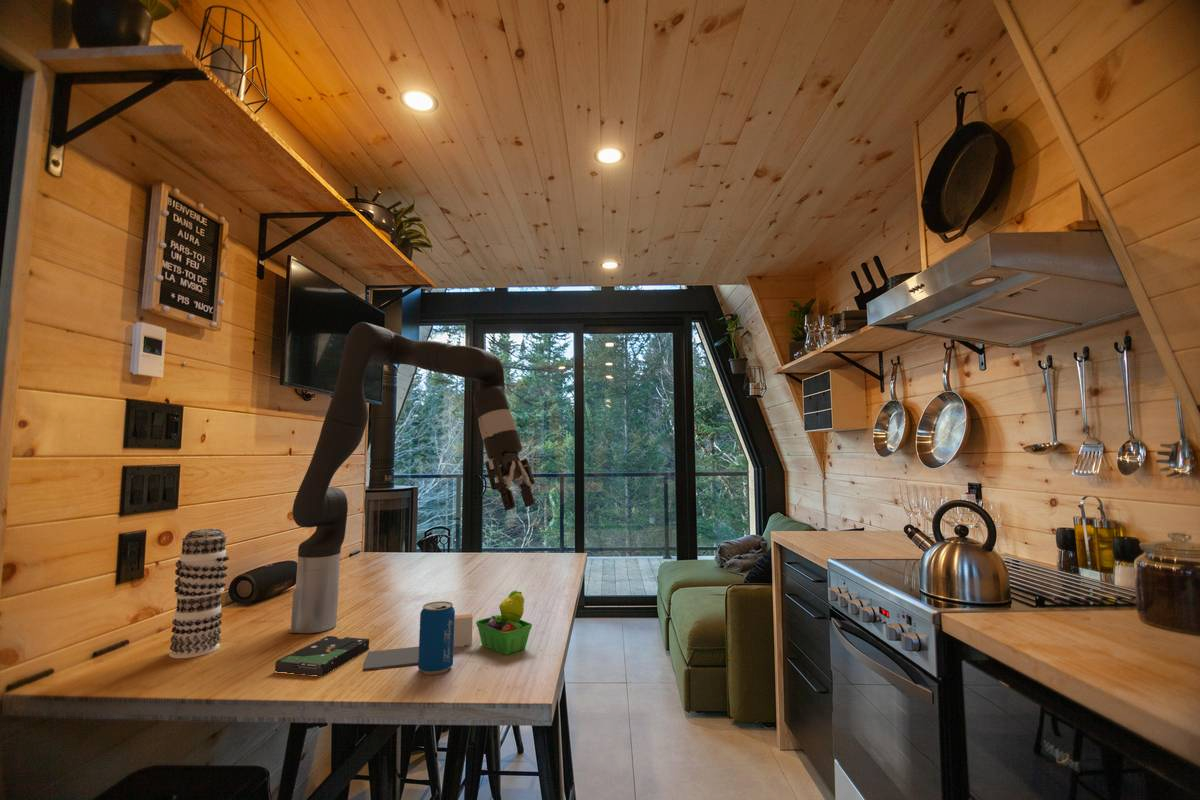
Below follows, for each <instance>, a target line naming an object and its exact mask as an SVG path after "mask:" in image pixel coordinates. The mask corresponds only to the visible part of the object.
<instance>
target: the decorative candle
mask: <svg viewBox="0 0 1200 800" xmlns="http://www.w3.org/2000/svg"><path fill="white" fill-rule="evenodd" d="M227 538H228V535H227V534H225V533H224V532H223V530H222V529H220V528H205V529H204V528H203V529H202V528H201V529H194V530H190V531H189V532H188V533H187V534H186V536H185V537H183V538H181V540H182V541H181V542H182V543H181V552H180V554H179V559H178V560H177V561H176V562H175V568H177V569H175V571H174V573H175V575H176V576H178V577H177V578H176V579H175V581H174V584H175V585H176V586H175V587H174V592H175V594H174V598H175V599H177V601H176V609H175V611H174V618H173V620H172V625H173V627H172V628H171V631H170V632H171V633H174V634H173V635H171V636H170V639H169V640H170V642H171V643H170V646H169V650H170V652H169V655H168V656H169V657H170V658H173V659H191V658H196V657H200V656H204V655H205V656H206V655H208V654H211V653H214V652H215V651H217V650H219V648H220V647H221V646H220V643H219V642H220V641H221V636H220V634H221V633H222V629H221V628H220V626H221V625H222V620H221V618H222V617H223V613H222V603H221V600H222V599H221V598H222V593H224V592H225V588H224V587H225V586H226V583H225V582H223V579H224V578H226V577H227V576H228V574H227V573H225V571H226V570H228V566H226V565H225V564H224V563H225V562H226V561H228V560H229V559H230V557H229V556H228V555H226V553H227V549H226V540H227Z"/></svg>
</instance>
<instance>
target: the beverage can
mask: <svg viewBox="0 0 1200 800" xmlns="http://www.w3.org/2000/svg"><path fill="white" fill-rule="evenodd" d="M453 606H454V604H453V602H450V601H445V600H444V601H443V600H442V601H441V600H440V601H432V602H427V603H426V604H423V606H422V610H421V611H420V613H419V614H420V615H419V616H420V617H419V635H418V636H419V638H418V640H419V641H418V647H419V659H418V665H417V666H418V669H419V670H420V671H421V672H422V673H423V674H425V675H439V674H443V673H445V672H447V671H448V670H449V669H450V668H451V667H452V666H453V665H454V649H455V647H454V620H455V615H456V614H455V613H456V610H455V608H454V607H453Z"/></svg>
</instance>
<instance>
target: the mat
mask: <svg viewBox="0 0 1200 800" xmlns="http://www.w3.org/2000/svg"><path fill="white" fill-rule="evenodd" d="M418 659H419V646H410V647H409V646H408V647H403V648H402V647H401V648H391V649H381V650H371V651H368V652H367V655H366V659H365V662H364V665H363V667H362V668H363V669H362V670H365V671H371V670H370V669H374V670H380V669H379V668H381V670H382V668H383V669H389V668H391V667H392V668H398V667H407V666H418ZM392 668H391V669H392Z"/></svg>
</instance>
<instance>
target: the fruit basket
mask: <svg viewBox="0 0 1200 800" xmlns="http://www.w3.org/2000/svg"><path fill="white" fill-rule="evenodd" d="M522 593H523V592H522V591H518V590H512V591H511V592H510V593H509V595H508V596H507V598H505V599H504V600H502V601H501V602H500V604H499V605H498V608H499V612H500V615H498V614H496V615H494V614H493V615H492V616H490V617H487V618H483V619H478V620H477V621H475V624H476V628H477V631H478V633H479V638H480V642H481V645H482V646H483V645H484V647H485V646H487V647H486V648H488V649H490V648H491V649H490V650H493V649H494V650H493V651H495V650H496V651H495V652H497V651H498V653H500V652H501V654H502V653H503V654H502V655H505V656H508V654H509V655H511V654H514V653H513V652H515V653H517V652H520V651H522V649H523V650H525V649H526V646H527V643H528V639H529V636H530V632H531V630H532V626H533V623H532V622H531V623H530V622H528V621H526V620H522V618H523V615H524V610H525V609H524V607H525V606H524V604H525V598H524V596H523V594H522ZM519 650H520V651H519ZM516 651H517V652H516ZM510 653H511V654H510Z"/></svg>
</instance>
